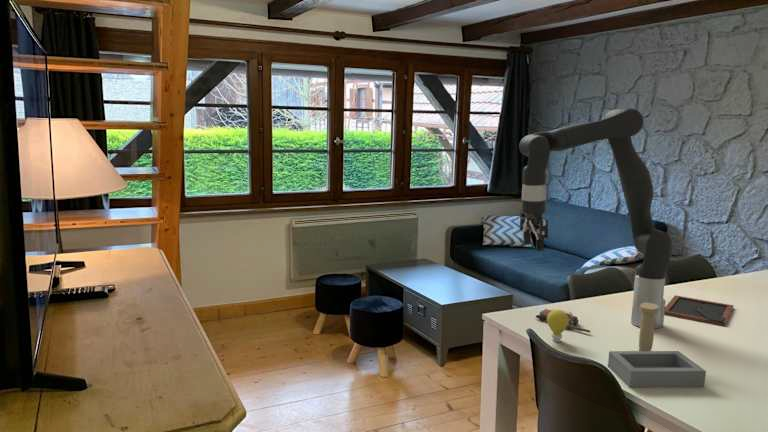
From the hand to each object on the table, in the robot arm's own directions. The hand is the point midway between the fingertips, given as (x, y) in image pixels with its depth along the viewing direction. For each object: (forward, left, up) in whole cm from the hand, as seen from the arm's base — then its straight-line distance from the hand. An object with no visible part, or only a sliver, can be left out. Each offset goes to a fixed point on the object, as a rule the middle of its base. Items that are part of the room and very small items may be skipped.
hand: (533, 247), depth 182 cm
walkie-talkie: (-14, -5, -29) cm, 32 cm away
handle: (-29, +20, -28) cm, 45 cm away
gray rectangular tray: (-24, +35, -28) cm, 51 cm away
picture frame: (-69, -19, -29) cm, 77 cm away
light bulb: (-6, +9, -28) cm, 30 cm away
